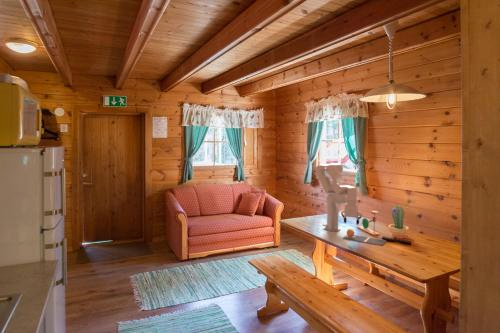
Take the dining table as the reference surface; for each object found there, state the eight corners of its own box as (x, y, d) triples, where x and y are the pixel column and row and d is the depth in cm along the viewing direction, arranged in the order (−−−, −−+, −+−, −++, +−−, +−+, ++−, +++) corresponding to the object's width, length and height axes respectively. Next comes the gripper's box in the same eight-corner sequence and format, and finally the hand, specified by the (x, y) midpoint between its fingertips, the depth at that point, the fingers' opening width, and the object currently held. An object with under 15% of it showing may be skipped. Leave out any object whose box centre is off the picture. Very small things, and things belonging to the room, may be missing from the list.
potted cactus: (384, 233, 280) (385, 204, 277) (403, 233, 280) (404, 204, 278) (392, 239, 264) (393, 208, 262) (412, 239, 265) (413, 208, 262)
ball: (345, 237, 268) (345, 229, 268) (347, 235, 273) (348, 227, 272) (352, 238, 265) (353, 230, 264) (355, 236, 270) (355, 229, 269)
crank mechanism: (380, 235, 275) (381, 212, 273) (373, 236, 274) (373, 212, 272) (363, 227, 299) (363, 206, 297) (356, 227, 298) (357, 206, 296)
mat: (342, 238, 266) (342, 237, 266) (347, 234, 277) (347, 233, 276) (382, 245, 249) (382, 244, 249) (386, 241, 260) (386, 240, 260)
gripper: (339, 202, 268) (339, 223, 269) (361, 204, 258) (361, 226, 259) (342, 200, 274) (342, 221, 275) (363, 202, 264) (363, 224, 265)
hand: (351, 223), depth 267 cm, fingers open, 9 cm apart
